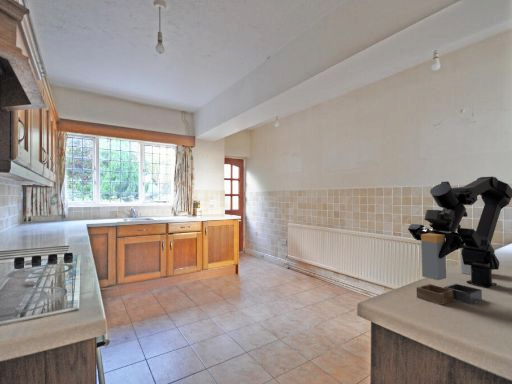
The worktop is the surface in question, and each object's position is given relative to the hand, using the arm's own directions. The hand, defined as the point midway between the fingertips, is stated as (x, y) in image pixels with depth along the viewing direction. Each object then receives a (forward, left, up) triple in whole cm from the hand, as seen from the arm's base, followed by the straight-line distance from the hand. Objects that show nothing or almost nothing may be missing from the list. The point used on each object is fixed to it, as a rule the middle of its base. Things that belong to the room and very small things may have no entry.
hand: (430, 256), depth 81 cm
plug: (-1, 0, -7) cm, 7 cm away
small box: (-43, -7, -13) cm, 46 cm away
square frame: (-1, 0, -13) cm, 13 cm away
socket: (-9, +4, -13) cm, 16 cm away
